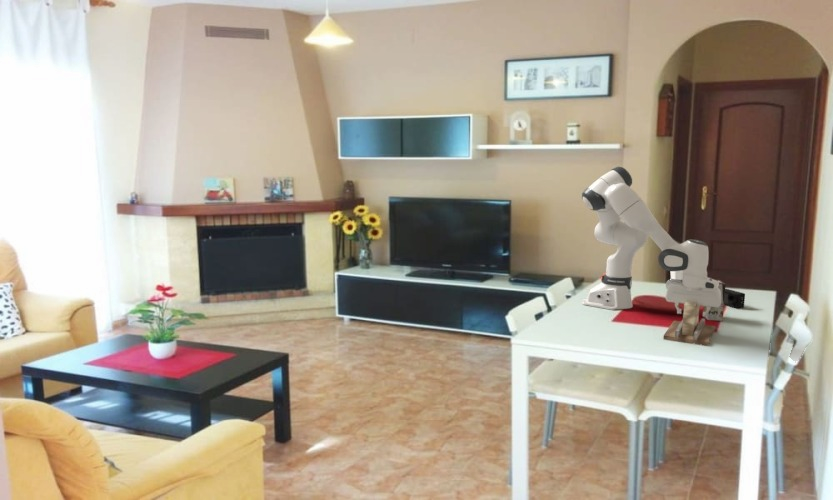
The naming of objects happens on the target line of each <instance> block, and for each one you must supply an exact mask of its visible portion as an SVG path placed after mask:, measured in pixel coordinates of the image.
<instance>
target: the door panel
mask: <svg viewBox="0 0 833 500" xmlns="http://www.w3.org/2000/svg"><path fill="white" fill-rule="evenodd" d="M699 315H700V305H697V303H695V302H686V303H685V304H683V313H682V320H683V327H682V335H689V336H693V335H694V332H695V330H696V328H697V326H698V324H699Z"/></svg>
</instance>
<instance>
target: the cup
mask: <svg viewBox="0 0 833 500" xmlns="http://www.w3.org/2000/svg"><path fill="white" fill-rule="evenodd" d="M669 272H670V279H679V280H682V279H683V271H682V270H681V271H669Z"/></svg>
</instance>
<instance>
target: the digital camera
mask: <svg viewBox="0 0 833 500" xmlns="http://www.w3.org/2000/svg"><path fill="white" fill-rule="evenodd" d="M745 299H746V293H744V292H740V291H737V290H733V289H728V288H725V297H724V306H726V307H730V308H733V309H736V310H741V309H745V301H746V300H745Z"/></svg>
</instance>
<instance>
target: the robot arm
mask: <svg viewBox="0 0 833 500" xmlns="http://www.w3.org/2000/svg"><path fill="white" fill-rule="evenodd" d="M632 185H633V178H632V175H631V174H630V172H629V171H628V170H627V169H626V168H625V167H623V166H616V167H614V168H612V169H611V170H609V171H608V172H606V173H604V174H603V175H601V176H599V178H598V179H597V180H595V181H593V183H591V184H590V185H589V186H588V187H586V188H585V189H584V190H583V192H582V194H581V199H582V202H583V204H584V205H585V206H586V207H587V208H588V209H589V210H591V211H595V213H596V215H597V218H598V221H599V222H597V224H596V225H595V227H594V233H593V234H594V237H595V239H596V240H597V241H598V242H600V243H603V244H606V245H610V246H617V248H616V251H615V252H614V253H612V254H610V255H609V256H608V257H607V259H606V267H605V268H606V269H605V273H603V274H602V275H601V277H600V280H601V282H599V283H598V284H596V285H595V286H593V287H592V288H590V290H589V291H588V295H587V297H586V298H584V299H583V300H582V305H585V306H589V307H595V308H601V309H605V310H610V311H611V310H612V311H616V310H627V309H632V308H633V307H634V304H633V301H632V292H631V289H632V286H633V285H632V284H633V276H632V265H633V262H634V257H635V255H636V254H637V252H638V251H639V250H640V249H641V248H643V247H644V246H645V245H646V244H647V242H648V240H649V238H651V240H652V241H653V242H654V243H655V244H656V245H657V247H658V248H659V249H660V252H659V255H658V257H657V261H658V265H659V267H660V268H662V270H664V271H667V272H670V271H681V270H682V271H683V279H682V280H679V279H671V278H670V279H668V280H667V281H666V283H665V287H666V289H667V290H666V294H665V300H666V302H668V303H674V307H675V308H676V314H677V315H682V310H683V309H682V308H680V306H679V305H680V304H683V305H684V304H685V303H686V302H695V303H697V305H699V307H701V306H702V307H704V306H706V309H707V311H706V312H703V311H702V318H705V317H707V313H708V312H709V310H710V309H711V307H717V308H718V307H719V306H720V305H721V291H720V289H719V288H718V287H719V282H718V281H716V280H717V279H714V278H712V277H708V270H707V268H708V266H709V256H710V255H709V253H710V252H709V246H708V244H707V243H706V242H704V241H703V240H702V241H701V240H700V239H694V238H693V239H687V240H685V241H684V242H679V241H677V240H676V239H674V238H673V236H671V235H670V234H669V233H668V232H667V230H666V229H665V228H664V227H663V226H662V225H661V224H660V222H659V221H658V220H657V219H656V217H655V216H654V215H653V213H652V211H651V210H650V208H649V207H648V206H647V204H646V202H645V201H644V200H643V199H642V198H641V196H640V195H639V194H638V193H637V192H636V191H635V190H633V188H631V186H632Z"/></svg>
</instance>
